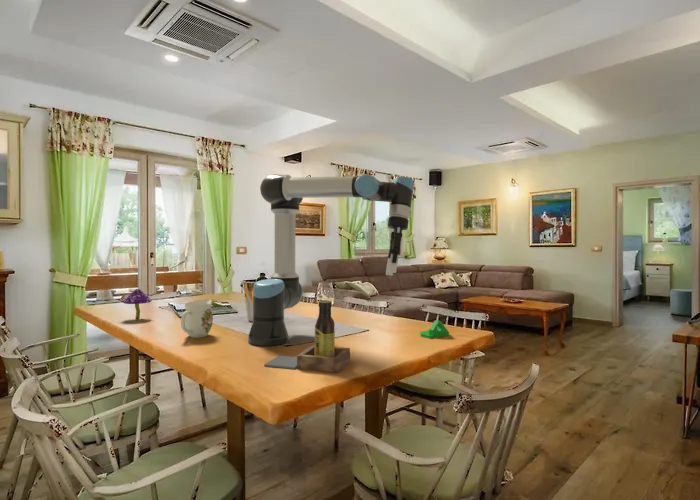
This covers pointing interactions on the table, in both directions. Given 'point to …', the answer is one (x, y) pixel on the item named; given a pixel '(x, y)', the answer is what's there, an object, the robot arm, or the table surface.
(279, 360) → the slate coaster
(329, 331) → the sauce bottle
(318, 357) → the walnut collar
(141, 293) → the decorative mushroom
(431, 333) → the bracket
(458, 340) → the table surface
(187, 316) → the pitcher
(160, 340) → the table surface
